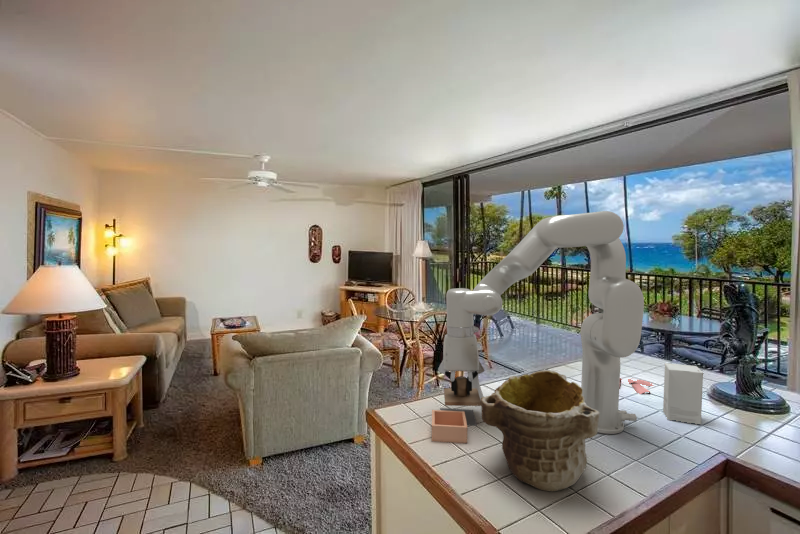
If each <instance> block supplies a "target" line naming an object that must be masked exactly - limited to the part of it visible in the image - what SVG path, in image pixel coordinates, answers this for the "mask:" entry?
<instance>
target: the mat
mask: <svg viewBox="0 0 800 534" xmlns="http://www.w3.org/2000/svg"><path fill="white" fill-rule="evenodd" d="M439 410H444V411H464V412H465V417H466V422H467V426H473V427H475V426H476V427H477V421H476V418H475V411H474V409H468V408H449V407H448V408H447V407H446V408H445V407H440V408H439Z"/></svg>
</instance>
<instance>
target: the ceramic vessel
mask: <svg viewBox="0 0 800 534" xmlns="http://www.w3.org/2000/svg"><path fill="white" fill-rule="evenodd" d="M582 391H583V389H582V388H581V386H580V384H578V383H576V382H574V381H572V382H569V381H568V380H567V376H566V375H564V374H561V373H559V372H558V371H555V370H546V369H545V370H544V369H543V370H538V371H534V372H532V373H530V374H529V373H528V374H526V373H525V374H523V375H512V376H509V378H508V379H507V380H504V381H503V382H502V383H501V385H499V386H498V387H497V388H496V389H495V390H494V392H492V393H491V394H490V395H486V396H484V397H482V398H481V406H480V407H481V419H482V421H483V423H484V424H486V425H488V426H490V427H495V428H497V429H498V430H499V431H500V432H501V433H502V435H503V436H502V444H501V446H502V447H501V449H502V452H503V455H504V458H505V460H506V462H507V465H508V468H509V470H510V472H511V474H512V475H513V476H514V477H516V478H517V480H518V481H520V482H524V483H525V484H527V485H530V486H532V487H533V488H536V489H538V490H541V491H547V492H556V491H561V490H565V489H567V488H569V487H571V486H573V485H575V484H576V483H577V482H578V481H579V479H580V477H581V476H582V474H583V473H584V472H585V470H586V468H587V464H588V460H587V459H588V458H587V457H588V456H587V452H586V451H587V450H586V440H587V439H591V438H594V437H596V435H597V436H598V422H599V415H600V413H599V412H598V411H597V410H595V409H592V408H591V407H589V406H587V405H586V403H585V402H584V401H585V399H584V396H582Z"/></svg>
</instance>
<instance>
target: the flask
mask: <svg viewBox="0 0 800 534" xmlns="http://www.w3.org/2000/svg"><path fill="white" fill-rule="evenodd" d="M472 372H473V371H472ZM472 388H477V390H478V393H479V397H480V400H481V398H482V397H485V396H484V394H483V391H482V388H481V384H480V380H479V374H478V375H477V376H476V377H475V378H474V379H473V381H472Z"/></svg>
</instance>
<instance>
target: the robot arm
mask: <svg viewBox="0 0 800 534" xmlns="http://www.w3.org/2000/svg"><path fill="white" fill-rule="evenodd" d="M623 221H624V220H623V219H622V218H621V216H620V215H618V214H617V213H615V212H613V211H609V210H601V211H600V210H599V211H594V212H583V213H576V214H575V213H573V214H560V215H553V216H549V217H544V218H542V219H540V221H538V222H537V224H535V225H534V226H533V227H532V228H531V230H530V231H529V232H528V233H527V234H526V235H525V236H524V237H523V238H522V239H521V241H520V242H519V243H518V244H516V246H514V248H513V249H512V250H511V251H510V252H509V253H508V254H507V255H506V256H505V257H504V258H502V259H501V260H500V262H498V263H497V264H496V265H495V266H494V267H493V268H491V270H490V271H488V273H487V274H486V275H485V276H484V277H483V278H482V279H481V280H480V281H479V282H478V283H477V285H476V286H475V287H474V288H473V290H471V289H469V288H465V287H459V288H450V289H448V290H447V292H446V295H445V296H446V331H447V332H446V334H445V335H444V339H443V344H442V345H443V346H442V347H443V350H442V351H443V352H442V361H441V363H440V364H439V365H438V366H439V367H438V369H437V371H438V372H439V373H441V374H443V375H445V376H446V377H447V378H448V379H449V380H450V388H451V391H454V395H457V389H456V372H467V376H466V378H467V395H470V391H472V381H473V379H474V378H475V377H476V376H477V375H478V376H479V375H480V374H482V373H484V372H485V368H484V366H483V364H482V363H481V361H480V357H479V347H478V339H477V335H476V334H475V333H479V329H480V328H479V327H478V326H475V325H474V315H481V316H493V315H495V314H498V313H499V312H500V310H502V307H503V299H502V297H501V296H502V294H504V292H506V291H507V290H508V288H510V287H511V286H513V284H515V283H517V282H520V281H521V280H524V279H526V278H528V277H529V276H531V275H533V274H534V273H535V272H536V271H537V269H538V268H539V267H541V265H543V263H545V261H546V260H547V259H548V258H549V257H550V255H552V254H553V253H554V251H555V250H556V249H558V248H559V249H560V248H561V249H562V248H563V249H564V248H580V247H586V248H587V250H588V252H589V255H590V274H589V275H590V276H589V282H588V283H589V285H588V300H589V301H590V303H591V304H592V305H594V306H595V307H596V308H598V309H601V310H603V313H601V312H597V313H596V312H595V313H592V314H590V315H588V316H586V317H585V318H584V320H583V321H582V322H581V323H582V324H581V326H580V339H581V349H582V351H581V353H582V355H581V357H582V359H581V362H582V364H581V380H580V381H581V382H580V384H581V386H580V387H581V388H582V389H583V391H582V396H584V399H585V401H584V402H585V403H586V405H587V406H589V407H591V408H592V409H595V410H597V411H598V412H599V413H600V415H599V422H598V432H597V434H598V433H599V434H606V435H613V434H614V435H616V434H620V433H622V432H623V431H624V429H625V424H624V422H625V421H628V422H629V421H630V422H636V421H637V419H638V417H637V415H636V413H629V412H628V411H627V410H624V409H623V410H620V409H619V405H620V404H619V403H620V401H619V400H620V388H619V385H620V386H621V384H620V383H621V381H620V378H621V358H627V357H629V356H632V354H633V355H634V353H635V352H636V351H637V349H638V347H639V346H640V342H641V338H642V329H643V318H644V308H645V298H644V294H643V292H642V289H641V288H640V286H639V285H638V284H637V283H635V282H634V281H632V280H630V279H628V278H626V273H627V271H626V268H627V267H626V265H627V255H626V254H627V253H626V251H625V250H626V249H625V246H624V245H623V243H622V240H620V237H621V235H622V234H623V233H624V232H623V231H624V229H625V228H624V227H625V226H624V222H623ZM472 371H473V372H472Z"/></svg>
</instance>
